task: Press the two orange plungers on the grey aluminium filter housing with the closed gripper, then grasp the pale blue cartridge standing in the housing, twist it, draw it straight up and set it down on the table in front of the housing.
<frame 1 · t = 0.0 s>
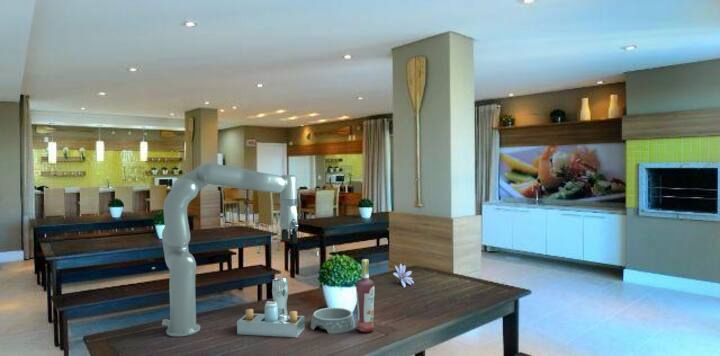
hand: (289, 241, 208), 31 cm above the table, tool pointing down, fingers open, 9 cm apart
beer glass: (280, 314, 207), on the table
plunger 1: (249, 316, 187), point 6 cm above the table, slide at 0.0 cm
housing: (271, 331, 186), on the table
water lily: (404, 285, 254), on the table
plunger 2: (293, 318, 184), point 5 cm above the table, slide at 0.0 cm
dog bowl: (333, 326, 192), on the table
cartridge: (271, 316, 186), in the housing
liquor: (365, 331, 186), on the table
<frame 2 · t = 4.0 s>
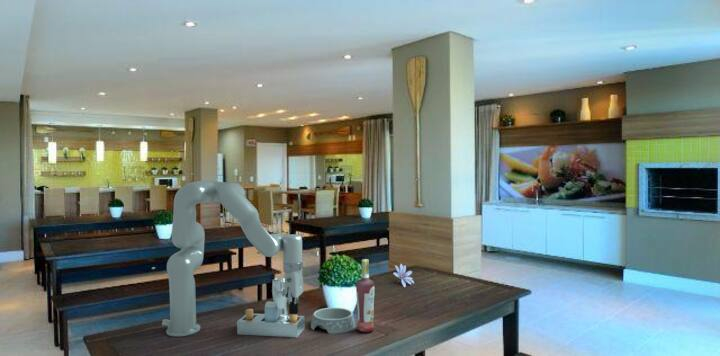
hand: (293, 313, 184), 8 cm above the table, tool pointing down, fingers closed
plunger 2: (293, 319, 184), point 5 cm above the table, slide at 0.6 cm, touching gripper
everything else where it was.
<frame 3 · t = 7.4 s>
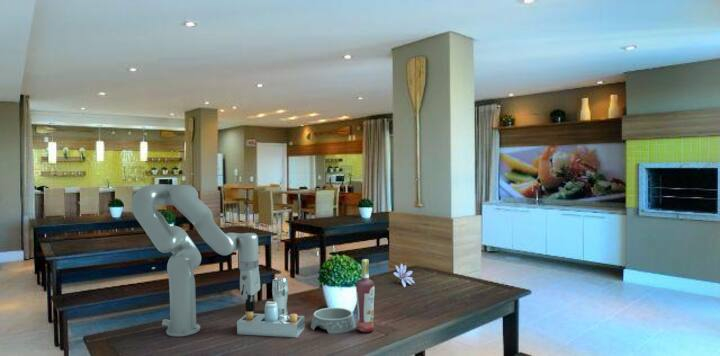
hand: (250, 310, 187), 8 cm above the table, tool pointing down, fingers closed
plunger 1: (249, 317, 187), point 5 cm above the table, slide at 0.3 cm, touching gripper
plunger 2: (293, 321, 184), point 4 cm above the table, slide at 1.1 cm
everything else where it was.
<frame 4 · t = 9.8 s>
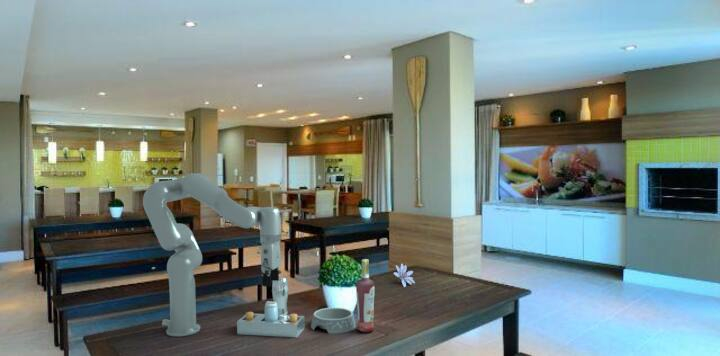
hand: (270, 283, 185), 19 cm above the table, tool pointing down, fingers open, 8 cm apart
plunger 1: (249, 319, 187), point 4 cm above the table, slide at 1.1 cm
everything else where it was.
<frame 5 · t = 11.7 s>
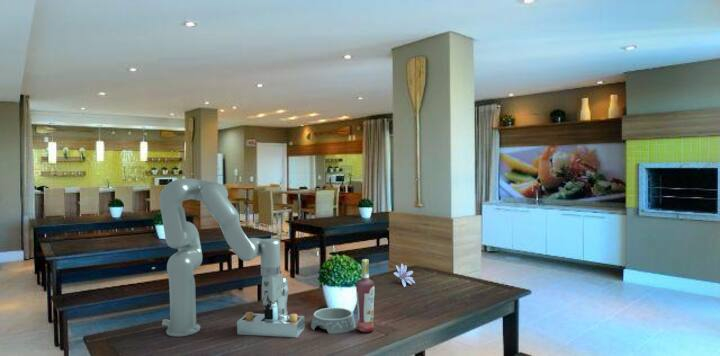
hand: (271, 316, 186), 6 cm above the table, tool pointing down, fingers closed on cartridge, 5 cm apart
cartridge: (271, 316, 186), in the housing, touching gripper
everything else where it was.
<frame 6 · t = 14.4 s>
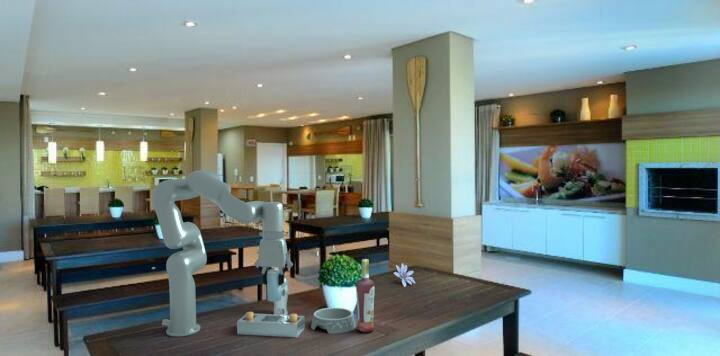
hand: (273, 283, 176), 21 cm above the table, tool pointing down, fingers closed on cartridge, 5 cm apart
cartridge: (273, 284, 176), point 21 cm above the table, touching gripper
when the fingers open (7 cm above the table, at t = 17.4 s): cartridge stays where it is, on the table.
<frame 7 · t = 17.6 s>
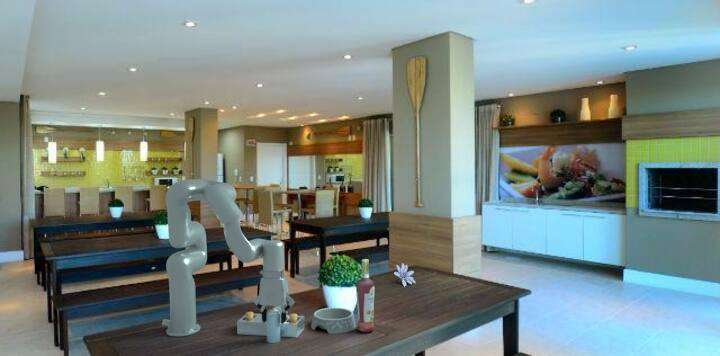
hand: (274, 321, 176), 7 cm above the table, tool pointing down, fingers open, 6 cm apart
cartridge: (273, 324, 176), on the table
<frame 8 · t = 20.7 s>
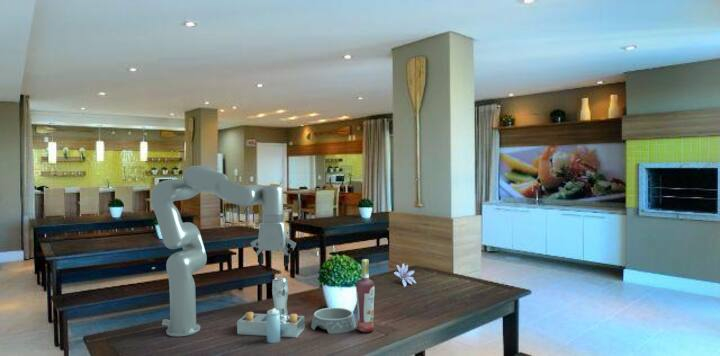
hand: (273, 265, 175), 28 cm above the table, tool pointing down, fingers open, 9 cm apart
at the end: cartridge inside the target area (0.4 cm from its centre), on the table; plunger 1 slide at 1.1 cm; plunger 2 slide at 1.1 cm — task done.
